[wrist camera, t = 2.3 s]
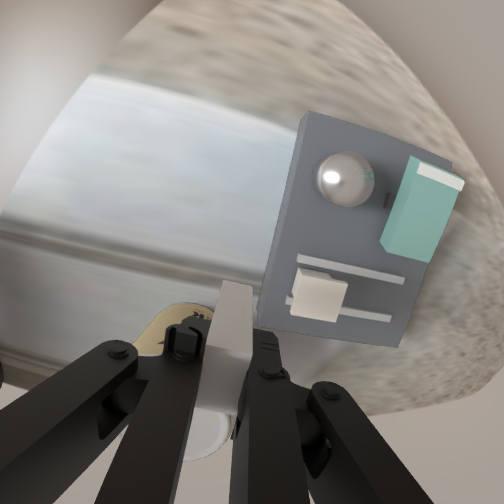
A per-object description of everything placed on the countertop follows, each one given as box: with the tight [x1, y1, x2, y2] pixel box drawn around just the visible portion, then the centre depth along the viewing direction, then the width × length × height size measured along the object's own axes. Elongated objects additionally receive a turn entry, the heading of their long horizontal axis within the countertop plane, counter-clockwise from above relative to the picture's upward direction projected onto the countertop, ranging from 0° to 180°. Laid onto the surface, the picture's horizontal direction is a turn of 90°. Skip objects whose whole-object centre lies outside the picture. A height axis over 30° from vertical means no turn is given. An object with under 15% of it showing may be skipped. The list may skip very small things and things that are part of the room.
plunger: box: [313, 152, 374, 207], centre depth 21 cm, size 4×4×3 cm
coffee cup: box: [118, 303, 235, 462], centre depth 24 cm, size 9×9×12 cm
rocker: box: [380, 155, 465, 263], centre depth 21 cm, size 4×7×2 cm, turn 167°
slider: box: [290, 267, 348, 323], centre depth 23 cm, size 3×3×4 cm
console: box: [257, 111, 452, 348], centre depth 26 cm, size 13×17×5 cm
